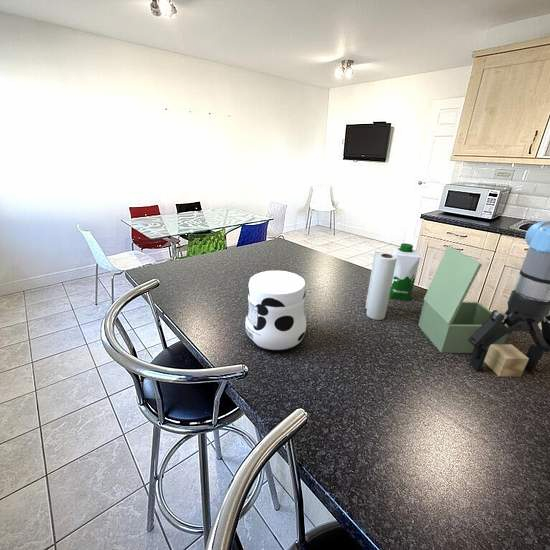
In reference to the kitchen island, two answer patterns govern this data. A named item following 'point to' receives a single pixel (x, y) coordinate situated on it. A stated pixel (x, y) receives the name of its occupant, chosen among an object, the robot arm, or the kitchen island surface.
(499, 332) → the robot arm
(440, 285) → the lid
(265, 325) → the milk container
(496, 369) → the block
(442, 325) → the green hinged box
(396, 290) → the milk carton
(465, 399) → the kitchen island surface
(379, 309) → the paper towel roll
